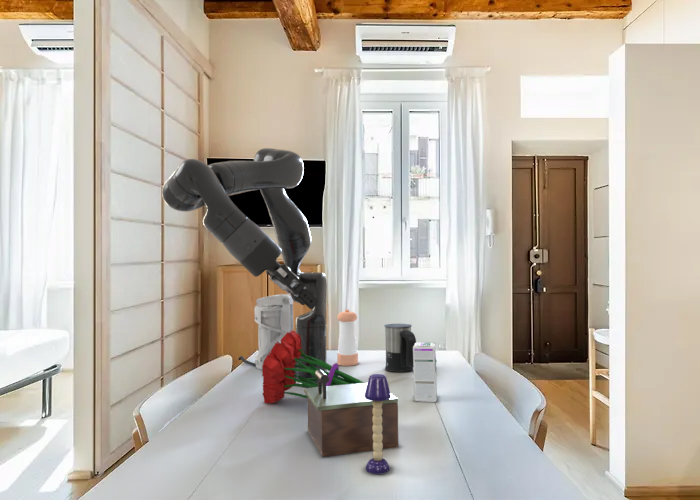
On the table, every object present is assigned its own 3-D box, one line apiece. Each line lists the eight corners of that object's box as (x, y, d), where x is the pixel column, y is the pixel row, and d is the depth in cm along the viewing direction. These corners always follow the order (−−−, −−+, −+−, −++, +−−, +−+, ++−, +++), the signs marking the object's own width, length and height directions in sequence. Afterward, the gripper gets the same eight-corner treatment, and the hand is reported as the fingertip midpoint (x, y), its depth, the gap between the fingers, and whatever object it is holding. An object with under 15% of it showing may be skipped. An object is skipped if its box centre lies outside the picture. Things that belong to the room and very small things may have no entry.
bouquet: (368, 444, 114) (249, 411, 119) (376, 420, 131) (271, 392, 136) (385, 362, 114) (265, 333, 119) (391, 349, 130) (285, 323, 135)
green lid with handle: (317, 410, 92) (317, 381, 92) (303, 391, 105) (303, 366, 106) (397, 402, 97) (397, 374, 97) (375, 385, 110) (374, 360, 110)
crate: (322, 457, 93) (321, 410, 93) (307, 432, 106) (307, 391, 106) (398, 447, 97) (397, 402, 97) (375, 424, 110) (375, 385, 110)
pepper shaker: (339, 361, 177) (338, 308, 177) (359, 361, 176) (358, 308, 176) (335, 365, 169) (335, 310, 170) (356, 366, 168) (355, 310, 169)
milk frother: (379, 369, 163) (378, 324, 163) (409, 361, 174) (409, 320, 174) (411, 376, 153) (410, 329, 153) (442, 368, 163) (441, 324, 163)
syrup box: (436, 402, 126) (435, 346, 126) (413, 401, 127) (412, 345, 127) (437, 396, 131) (436, 342, 132) (415, 395, 133) (414, 341, 133)
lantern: (251, 369, 165) (250, 295, 165) (260, 362, 175) (259, 293, 176) (288, 370, 163) (287, 295, 164) (295, 363, 174) (294, 293, 174)
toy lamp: (364, 463, 89) (363, 372, 90) (389, 462, 90) (388, 371, 90) (367, 475, 85) (366, 379, 85) (393, 474, 85) (392, 378, 85)
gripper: (270, 231, 89) (332, 292, 92) (261, 235, 102) (315, 288, 105) (240, 261, 87) (304, 322, 90) (236, 260, 101) (291, 313, 104)
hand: (310, 303), depth 98 cm, fingers open, 8 cm apart
